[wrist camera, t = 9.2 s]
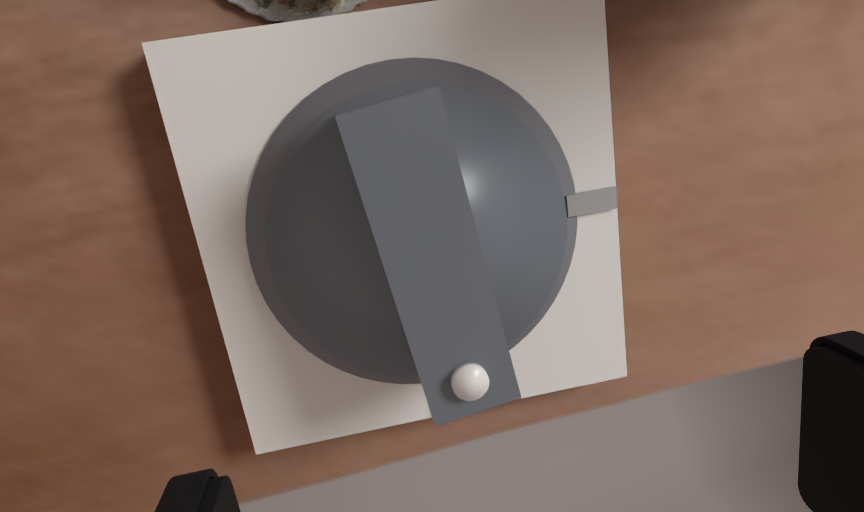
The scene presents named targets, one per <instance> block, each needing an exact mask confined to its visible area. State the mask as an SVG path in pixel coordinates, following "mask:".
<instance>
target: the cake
mask: <svg viewBox="0 0 864 512" xmlns="http://www.w3.org/2000/svg"><path fill="white" fill-rule="evenodd" d="M226 1H228V2H229V3H231V4H234V5H238V7H240V8H243V9H244V10H245V12H247V13H249V14H252V15H255V14H256V15H258V16H259V15H260V16H261V17H263V18H264V19H265V20H269V21H283V22H290V21H297V20H304V19H311V18H318V17H325V16H332V15H339V14H346V13H348V12H350V11H352V9H353V8H355V6H356V5H358V4H359V5H360V4H362V3H364V2H366V1H367V0H226Z"/></svg>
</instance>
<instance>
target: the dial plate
mask: <svg viewBox="0 0 864 512" xmlns="http://www.w3.org/2000/svg"><path fill="white" fill-rule="evenodd" d="M142 46H143V50H144V53H145V57H146V61H147V64H148V68H149V71H150V75H151V79H152V82H153V86H154V89H155V93H156V96H157V100H158V104H159V107H160V111H161V114H162V118H163V122H164V125H165V129H166V132H167V136H168V140H169V143H170V147H171V150H172V154H173V158H174V161H175V165H176V168H177V172H178V176H179V179H180V183H181V186H182V190H183V194H184V197H185V201H186V204H187V208H188V212H189V215H190V219H191V222H192V226H193V230H194V233H195V237H196V240H197V244H198V248H199V251H200V255H201V258H202V262H203V266H204V269H205V273H206V276H207V280H208V284H209V287H210V291H211V294H212V298H213V302H214V305H215V309H216V312H217V316H218V320H219V323H220V327H221V330H222V334H223V337H224V341H225V345H226V348H227V352H228V355H229V359H230V363H231V366H232V370H233V373H234V377H235V381H236V384H237V388H238V391H239V395H240V399H241V402H242V406H243V409H244V413H245V417H246V420H247V424H248V427H249V431H250V435H251V438H252V442H253V445H254V449H255V453H256V455H257V454H262V453H267V452H271V451H276V450H281V449H285V448H290V447H295V446H300V445H304V444H309V443H314V442H318V441H323V440H328V439H333V438H337V437H342V436H347V435H352V434H356V433H361V432H366V431H370V430H375V429H380V428H385V427H389V426H394V425H399V424H403V423H408V422H413V421H418V420H422V419H427V418H432V415H431V412H430V409H429V406H428V402H427V399H426V396H425V393H424V390H423V387H422V384H421V381H420V378H402V377H392V376H385V375H381V374H376V373H372V372H368V371H366V370H363V369H360V368H357V367H354V366H352V365H350V364H348V363H346V362H344V361H342V360H340V359H338V358H336V357H334V356H333V355H332V354H330V353H329V352H327V351H326V350H324V349H323V348H321V347H320V346H319V345H318V344H317V343H315V342H314V341H313V340H312V339H311V338H310V337H309V336H308V335H306V334H305V332H304V331H303V330H302V329H301V328H300V327H299V325H298V324H297V323H296V322H295V321H294V320H293V318H292V316H291V315H290V313H289V312H288V310H287V309H286V307H285V306H284V304H283V302H282V300H281V298H280V296H279V294H278V292H277V289H276V287H275V285H274V282H273V278H272V275H271V272H270V269H269V264H268V258H267V252H266V239H265V225H266V216H267V207H268V203H269V200H270V196H271V192H272V188H273V185H274V183H275V180H276V178H277V176H278V173H279V171H280V168H281V167H282V165H283V163H284V161H285V160H286V158H287V156H288V155H289V153H290V151H291V150H292V148H293V147H294V146H295V144H296V143H297V142H298V141H299V139H300V138H301V137H302V136H303V134H304V133H305V132H306V131H307V130H308V129H309V128H310V127H311V126H312V125H313V124H314V123H316V122H317V121H318V120H319V119H320V118H321V117H322V116H324V115H325V114H327V113H328V112H329V111H331V110H332V109H333V108H335V107H336V106H338V105H339V104H341V103H343V102H345V101H347V100H349V99H351V98H352V97H354V96H356V95H359V94H362V93H364V92H367V91H370V90H372V89H375V88H379V87H384V86H388V85H393V84H398V83H410V82H430V83H442V84H447V85H452V86H457V87H461V88H464V89H467V90H470V91H473V92H476V93H478V94H481V95H483V96H485V97H487V98H489V99H490V100H492V101H494V102H496V103H498V104H500V105H501V106H502V107H504V108H505V109H507V110H508V111H510V112H511V113H512V114H514V115H515V116H516V117H517V118H518V119H519V120H520V121H521V122H522V123H524V124H525V125H526V126H527V127H528V128H529V129H530V131H531V132H532V133H533V134H534V135H535V137H536V138H537V139H538V140H539V142H540V143H541V144H542V146H543V148H544V149H545V151H546V152H547V154H548V156H549V157H550V159H551V161H552V163H553V165H554V168H555V170H556V172H557V175H558V177H559V180H560V184H561V187H562V191H563V194H564V199H565V206H566V213H567V237H566V246H565V253H564V257H563V261H562V265H561V270H560V272H559V275H558V277H557V280H556V283H555V285H554V288H553V290H552V291H551V293H550V295H549V297H548V299H547V301H546V303H545V304H544V306H543V307H542V309H541V310H540V312H539V313H538V314H537V316H536V317H535V319H534V320H533V321H532V322H531V323H530V324H529V325H528V327H527V328H526V329H525V330H524V331H523V332H522V333H521V334H520V335H519V336H518V337H517V338H515V339H514V340H513V341H512V342H511V343H510V344H509V345H508V349H509V353H510V356H511V360H512V364H513V368H514V371H515V375H516V379H517V383H518V386H519V390H520V394H521V398H520V399H522V398H526V397H531V396H536V395H540V394H545V393H550V392H555V391H559V390H564V389H569V388H573V387H578V386H583V385H588V384H592V383H597V382H602V381H607V380H611V379H616V378H621V377H625V376H627V367H626V350H625V333H624V316H623V300H622V283H621V266H620V249H619V233H618V216H617V208H618V204H617V187H616V182H615V166H614V149H613V132H612V115H611V99H610V82H609V65H608V49H607V32H606V15H605V0H436V1H429V2H422V3H415V4H408V5H401V6H394V7H387V8H380V9H373V10H366V11H360V12H353V13H346V14H339V15H332V16H325V17H318V18H311V19H304V20H297V21H290V22H283V23H276V24H269V25H262V26H255V27H249V28H242V29H235V30H228V31H221V32H214V33H207V34H200V35H193V36H186V37H179V38H172V39H165V40H158V41H151V42H144V43H142Z"/></svg>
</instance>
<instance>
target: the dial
mask: <svg viewBox="0 0 864 512" xmlns="http://www.w3.org/2000/svg"><path fill="white" fill-rule="evenodd" d="M566 237H567V213H566V206H565V199H564V194H563V191H562V187H561V184H560V180H559V177H558V175H557V172H556V170H555V168H554V165H553V163H552V161H551V159H550V157H549V156H548V154H547V152H546V151H545V149H544V148H543V146H542V144H541V143H540V142H539V140H538V139H537V138H536V137H535V135H534V134H533V133H532V132H531V131H530V129H529V128H528V127H527V126H526V125H525V124H524V123H522V122H521V121H520V120H519V119H518V118H517V117H516V116H515V115H514V114H512V113H511V112H510V111H508V110H507V109H505V108H504V107H502V106H501V105H500V104H498V103H496V102H494V101H492V100H490V99H489V98H487V97H485V96H483V95H481V94H478V93H476V92H473V91H470V90H467V89H464V88H461V87H457V86H452V85H447V84H442V83H430V82H410V83H398V84H393V85H388V86H384V87H379V88H375V89H372V90H370V91H367V92H364V93H362V94H359V95H356V96H354V97H352V98H351V99H349V100H347V101H345V102H343V103H341V104H339V105H338V106H336V107H335V108H333V109H332V110H331V111H329V112H328V113H327V114H325V115H324V116H322V117H321V118H320V119H319V120H318V121H317V122H316V123H314V124H313V125H312V126H311V127H310V128H309V129H308V130H307V131H306V132H305V133H304V134H303V136H302V137H301V138H300V139H299V141H298V142H297V143H296V144H295V146H294V147H293V148H292V150H291V151H290V153H289V155H288V156H287V158H286V160H285V161H284V163H283V165H282V167H281V168H280V171H279V173H278V176H277V178H276V180H275V183H274V185H273V188H272V192H271V196H270V200H269V203H268V207H267V216H266V225H265V239H266V252H267V258H268V264H269V269H270V272H271V275H272V278H273V282H274V285H275V287H276V289H277V292H278V294H279V296H280V298H281V300H282V302H283V304H284V306H285V307H286V309H287V310H288V312H289V313H290V315H291V316H292V318H293V320H294V321H295V322H296V323H297V324H298V325H299V327H300V328H301V329H302V330H303V331H304V332H305V334H306V335H308V336H309V337H310V338H311V339H312V340H313V341H314V342H315V343H317V344H318V345H319V346H320V347H321V348H323V349H324V350H326V351H327V352H329V353H330V354H332V355H333V356H334V357H336V358H338V359H340V360H342V361H344V362H346V363H348V364H350V365H352V366H354V367H357V368H360V369H363V370H366V371H368V372H372V373H376V374H381V375H385V376H392V377H402V378H420V381H421V384H422V387H423V390H424V393H425V396H426V399H427V402H428V406H429V409H430V412H431V415H432V418H433V421H434V424H435V427H436V426H439V425H442V424H445V423H448V422H451V421H454V420H457V419H460V418H463V417H466V416H469V415H472V414H475V413H478V412H481V411H484V410H487V409H490V408H493V407H496V406H499V405H502V404H505V403H508V402H511V401H514V400H517V399H520V398H521V394H520V390H519V386H518V383H517V379H516V375H515V371H514V368H513V364H512V360H511V356H510V353H509V349H508V345H509V344H510V343H511V342H512V341H513V340H514V339H515V338H517V337H518V336H519V335H520V334H521V333H522V332H523V331H524V330H525V329H526V328H527V327H528V325H529V324H530V323H531V322H532V321H533V320H534V319H535V317H536V316H537V314H538V313H539V312H540V310H541V309H542V307H543V306H544V304H545V303H546V301H547V299H548V297H549V295H550V293H551V291H552V290H553V288H554V285H555V283H556V280H557V277H558V275H559V272H560V270H561V265H562V261H563V257H564V253H565V246H566Z"/></svg>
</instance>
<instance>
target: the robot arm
mask: <svg viewBox="0 0 864 512" xmlns="http://www.w3.org/2000/svg"><path fill="white" fill-rule="evenodd" d="M798 488H799V492H800V495H801V496H802V498H803V500H804V502H805V503H806V505H807V506H808V507H809V508H810V509H811V510H812V511H813V512H864V334H862V333H860V332H856V331H846V332H841V333H836V334H832V335H827V336H823V337H818V338H816V339H815V340H813V342H812V343H811V345H810V349H808V350H807V351H806V352H805V354H804V358H803V379H802V404H801V426H800V448H799V471H798ZM155 512H240V509H239V505H238V502H237V499H236V495H235V492H234V489H233V485H232V482H231V480H230V478H229V477H228V476H221V477H218V476H217V473H216V472H215V471H214V470H213V469H206V470H202V471H197V472H192V473H188V474H183V475H179V476H174V477H172V478H171V479H170V480H169V482H168V484H167V486H166V488H165V490H164V493H163V495H162V497H161V499H160V501H159V504H158V506H157V508H156V510H155Z"/></svg>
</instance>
